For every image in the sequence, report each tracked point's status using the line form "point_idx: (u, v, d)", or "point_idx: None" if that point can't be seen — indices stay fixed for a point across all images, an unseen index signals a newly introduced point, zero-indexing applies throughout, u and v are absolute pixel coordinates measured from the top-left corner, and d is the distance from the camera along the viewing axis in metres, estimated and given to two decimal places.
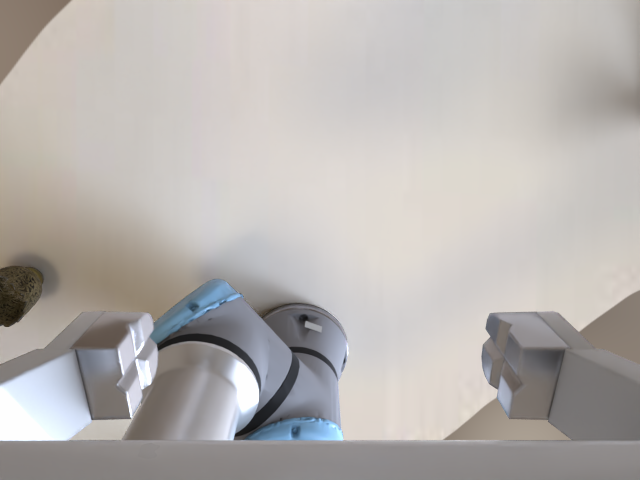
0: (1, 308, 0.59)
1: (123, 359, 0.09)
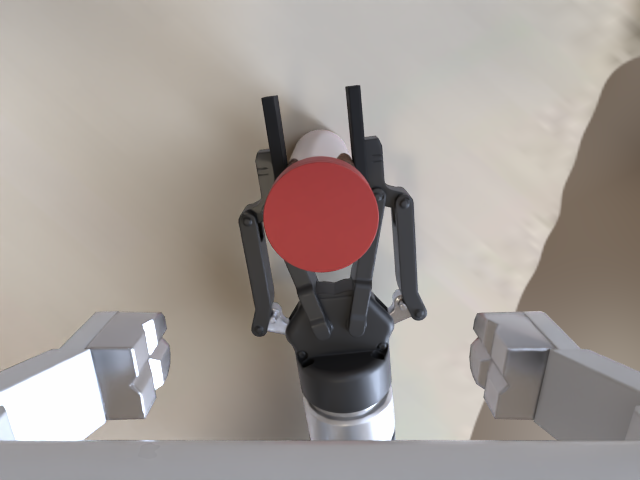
0: None
1: (137, 359, 0.09)
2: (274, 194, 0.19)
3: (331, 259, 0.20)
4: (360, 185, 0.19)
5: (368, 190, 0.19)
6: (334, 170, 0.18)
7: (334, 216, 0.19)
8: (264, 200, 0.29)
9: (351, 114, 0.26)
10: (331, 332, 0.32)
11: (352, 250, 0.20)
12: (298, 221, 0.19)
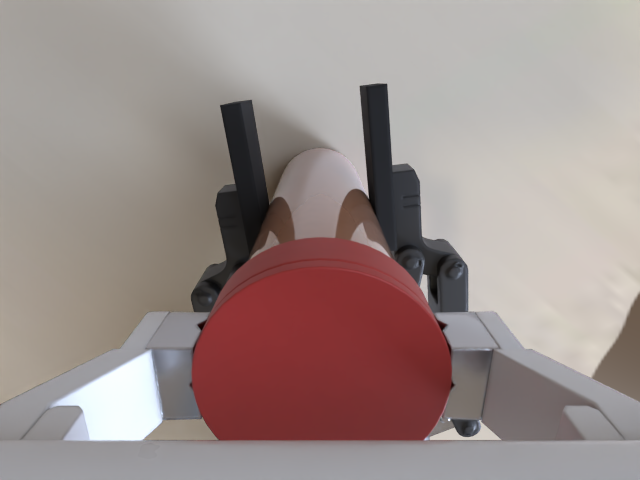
0: None
1: None
2: (213, 336, 0.08)
3: None
4: (413, 316, 0.08)
5: (431, 326, 0.08)
6: (353, 285, 0.08)
7: (352, 379, 0.08)
8: (231, 265, 0.18)
9: (371, 132, 0.16)
10: None
11: None
12: (271, 389, 0.09)
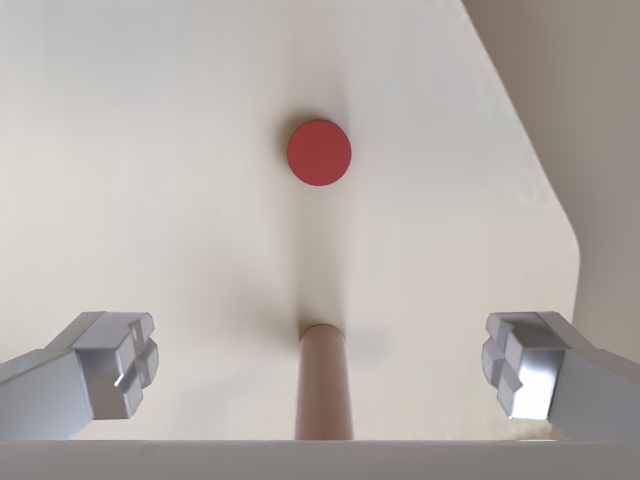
0: None
1: (122, 359, 0.09)
2: (312, 182, 0.35)
3: (340, 142, 0.34)
4: (294, 138, 0.34)
5: (296, 133, 0.34)
6: (290, 154, 0.34)
7: (315, 147, 0.34)
8: None
9: None
10: None
11: (332, 131, 0.34)
12: (323, 166, 0.35)
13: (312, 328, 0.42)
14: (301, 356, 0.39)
